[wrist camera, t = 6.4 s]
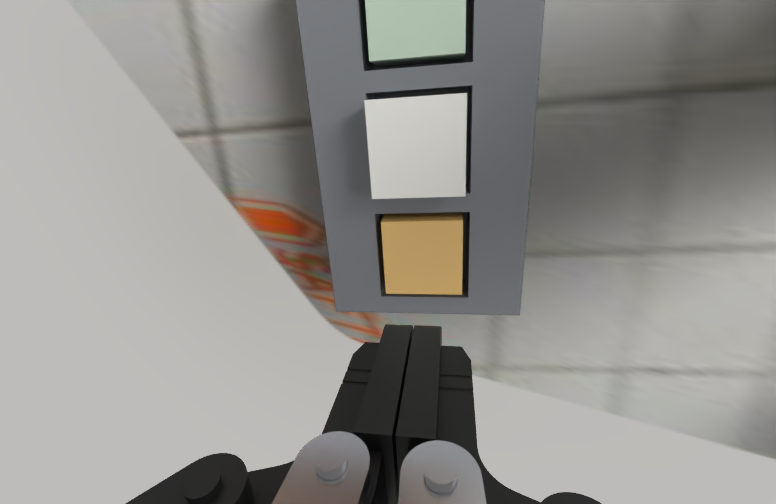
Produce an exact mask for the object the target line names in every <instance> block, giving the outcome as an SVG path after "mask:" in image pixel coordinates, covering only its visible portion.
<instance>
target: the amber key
mask: <svg viewBox="0 0 776 504" xmlns="http://www.w3.org/2000/svg"><path fill="white" fill-rule="evenodd" d="M381 232H382V246H383V260H384V274H385V288H386V294H448V295H462V269H463V216H462V212H440V213H394V214H385V215H384V217H383V219H382V221H381Z"/></svg>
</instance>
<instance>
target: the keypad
mask: <svg viewBox="0 0 776 504" xmlns="http://www.w3.org/2000/svg"><path fill="white" fill-rule="evenodd" d="M544 5H545V0H466V44H465V55H464V58H463V59H459V60H448V61H436V62H424V63H412V64H401V65H389V66H377V65H375V64H373V63H371V62H370V61H369V50H368V36H367V22H366V8H365V0H296V6H297V14H298V22H299V29H300V37H301V45H302V52H303V60H304V68H305V75H306V83H307V91H308V99H309V106H310V114H311V122H312V129H313V137H314V145H315V153H316V160H317V168H318V176H319V183H320V191H321V199H322V206H323V214H324V222H325V230H326V237H327V245H328V253H329V260H330V268H331V276H332V283H333V291H334V299H335V307H336V311H342V312H388V313H435V314H481V315H520V306H521V294H522V281H523V269H524V256H525V244H526V231H527V218H528V206H529V193H530V181H531V168H532V156H533V143H534V131H535V118H536V105H537V93H538V80H539V68H540V55H541V43H542V30H543V17H544ZM457 93H467V130H466V195H465V196H464V197H428V198H392V199H372V192H371V180H370V167H369V154H368V142H367V129H366V116H365V104H364V100H373V99H387V98H401V97H415V96H429V95H443V94H457ZM440 212H462V216H463V269H462V295H448V294H386V288H385V274H384V260H383V246H382V232H381V221H382V219H383V217H384V215H385V214H394V213H440Z"/></svg>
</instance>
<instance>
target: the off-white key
mask: <svg viewBox="0 0 776 504" xmlns="http://www.w3.org/2000/svg"><path fill="white" fill-rule="evenodd" d="M364 104H365V116H366V129H367V142H368V154H369V167H370V180H371V192H372V199H392V198H428V197H464V196H465V195H466V130H467V93H457V94H443V95H429V96H415V97H401V98H387V99H373V100H364Z"/></svg>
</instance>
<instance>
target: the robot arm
mask: <svg viewBox="0 0 776 504" xmlns="http://www.w3.org/2000/svg"><path fill="white" fill-rule="evenodd" d="M126 504H601V503H600V502H598V501H596V500H594V499H592V498H590V497H587V496H584V495H581V494H576V493H570V492H562V493H556V494H553V495H550V496H549V497H547V498H545V499H544V500H543V501H542V502H541V503H540V502H538V501H536V500H533V499H531V498H529V497H526V496H524V495H522V494H519V493H517V492H515V491H513V490H511V489H509V488H507V487H505V486H504V485H502V484H501V483H500V482H498V481H497V480H496V479H495V478H494V477H493V476H492V475H491V474H490V473H489V472H488V471H487V469H486V468H485V466H484V465H483V463H482V461H481V459H480V457H479V454H478V449H477V438H476V424H475V411H474V397H473V383H472V370H471V360H470V358H469V357H468V356H467V354H466V353H465V351H464V350H463V348H462V347H455V346H442V328H441V326H416V325H415V326H414V329H413V326H412V325H388V324H386V325H385V327H384V330H383V334H382V337H381V340H380V343H370V342H365V343H364V344H363V345H362V346H361V347H360V348H359V349H358V350H357V351H356V352H355V353H354V354H353V356H352V359H351V361H350V364H349V366H348V370H347V372H346V374H345V377H344V379H343V384H341V387H340V389H339V392H338V394H337V397H336V399H335V402H334V404H333V407H332V410H331V412H330V415H329V418H328V420H327V422H326V425H325V428H324V430H323V432H322V435H319V436H317V437H316V438H314V439H312V440H311V441H309V442H308V443H307V444H306V445H305V446H304V447H303V448H302V449H301V450H300V452H299V453H298V455H297V457H296V458H295V460H294V461H292V462H290V463H287V464H283V465H280V466H275V467H271V468H266V469H261V470H256V471H251V472H247V470H246V466H245V464H244V462H243V461H242V460H241V459H240V458H238V457H237V456H235V455H232V454H227V453H219V454H213V455H209V456H206V457H203V458H201V459H199V460H197V461H195V462H194V463H191V464H190V465H188V466H187V467H185V468H183V469H182V470H180V471H179V472H177V473H175V474H173V475H172V476H170V477H168V478H167V479H165V480H164V481H162V482H160V483H159V484H157V485H155V486H154V487H152V488H150V489H149V490H147V491H146V492H144V493H142V494H141V495H139V496H137V497H136V498H134V499H132V500H131V501H129V502H128V503H126Z"/></svg>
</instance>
